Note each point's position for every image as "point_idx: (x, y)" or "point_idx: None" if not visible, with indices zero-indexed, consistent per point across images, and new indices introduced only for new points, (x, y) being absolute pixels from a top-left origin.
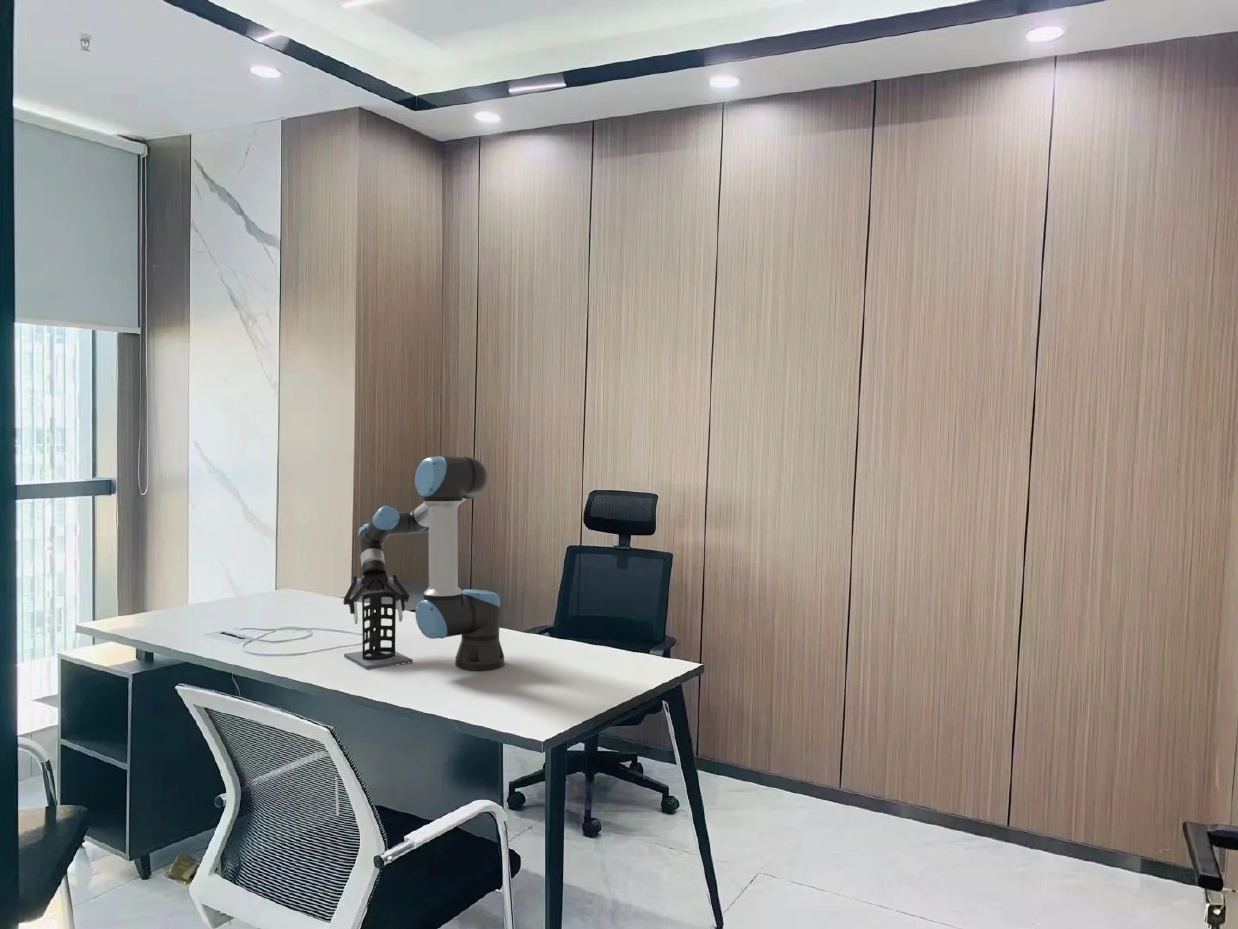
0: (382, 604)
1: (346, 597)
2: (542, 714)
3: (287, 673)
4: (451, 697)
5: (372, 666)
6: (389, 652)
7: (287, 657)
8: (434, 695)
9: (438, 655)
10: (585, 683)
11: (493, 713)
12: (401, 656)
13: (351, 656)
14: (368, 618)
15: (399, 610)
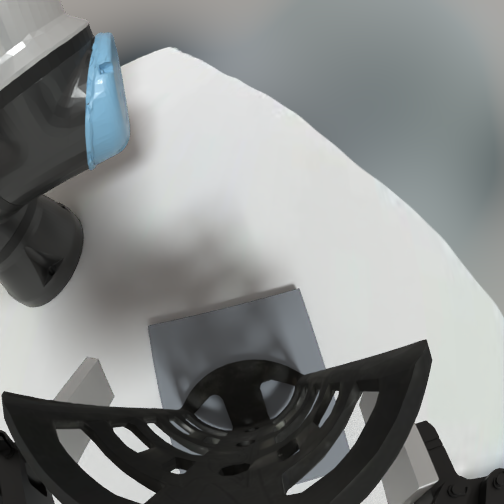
0: (162, 479)
1: (500, 492)
2: (129, 74)
3: (474, 298)
4: (179, 103)
5: (279, 295)
6: None
7: (479, 454)
8: (197, 109)
9: None
10: None
11: (165, 72)
12: (169, 377)
13: None
14: (291, 436)
15: (76, 392)
